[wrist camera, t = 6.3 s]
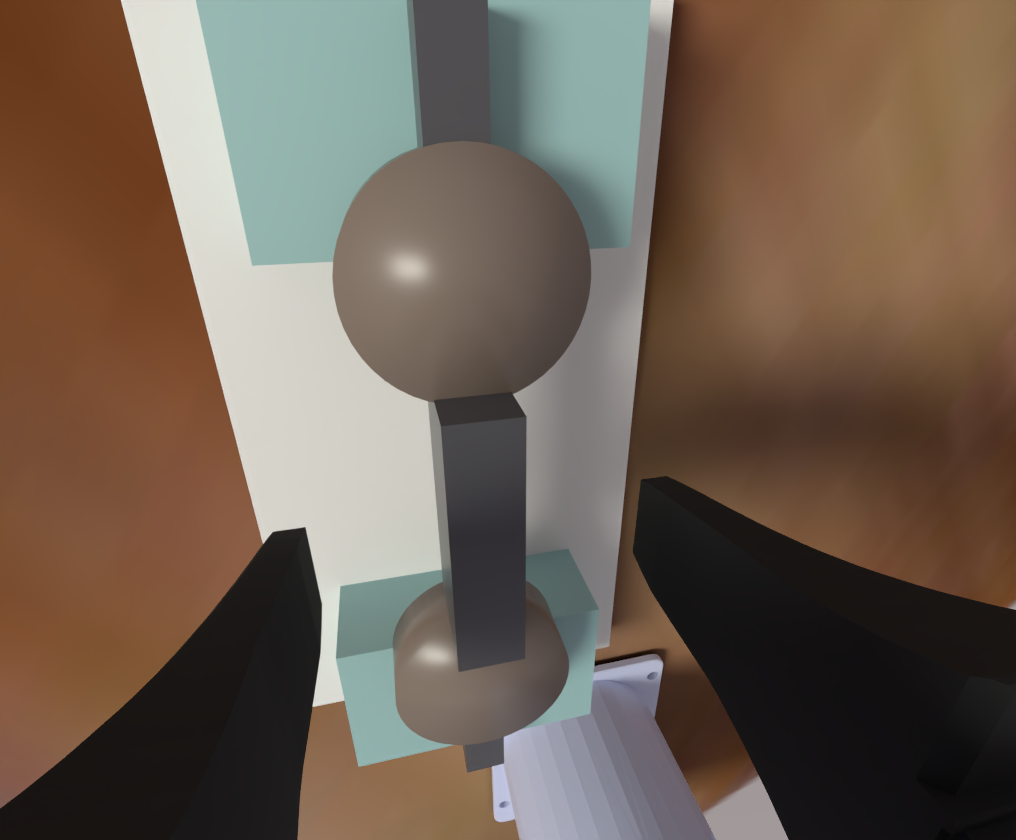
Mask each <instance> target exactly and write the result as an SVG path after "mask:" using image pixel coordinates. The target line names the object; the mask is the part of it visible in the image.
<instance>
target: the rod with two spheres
mask: <svg viewBox="0 0 1016 840" xmlns="http://www.w3.org/2000/svg"><path fill="white" fill-rule="evenodd" d="M407 14H408V27H409V41H410V54H411V68H412V81H413V94H414V108H415V121H416V134H417V148H415V149H412V150H410V151H407V152H405V153H402V154H400V155H398V156H397V157H395V158H393V159H392V160H390V161H388V162H387V163H385V164H384V165H383V166H382V167H380V168H379V169H378V170H377V171H375V172H374V173H373V174H372V175H371V176H370V177H369V178H368V180H367V181H366V182H365V183H364V184H363V185H362V187H361V188H360V189H359V191H358V192H357V194H356V195H355V197H354V198H353V200H352V202H351V204H350V206H349V208H348V210H347V212H346V215H345V218H344V221H343V224H342V226H341V229H340V232H339V235H338V238H337V242H336V247H335V252H334V258H333V274H332V279H333V291H334V298H335V303H336V307H337V312H338V315H339V318H340V320H341V323H342V326H343V329H344V331H345V332H346V334H347V336H348V338H349V340H350V342H351V344H352V345H353V347H354V348H355V350H356V351H357V353H358V354H359V355H360V357H361V358H362V359H363V360H364V362H365V363H366V364H367V365H368V366H369V367H370V368H371V369H372V370H373V371H374V372H375V373H376V374H378V375H379V376H380V377H381V378H382V379H383V380H385V381H386V382H388V383H389V384H391V385H392V386H394V387H395V388H397V389H398V390H400V391H403V392H405V393H407V394H409V395H411V396H413V397H416V398H419V399H422V400H425V401H428V409H429V421H430V433H431V445H432V457H433V470H434V482H435V494H436V506H437V518H438V530H439V542H440V555H441V567H442V579H443V582H441V583H438V584H437V585H435V586H433V587H431V588H430V589H428V590H427V591H425V592H424V593H422V594H421V595H420V596H419V597H417V598H416V599H415V600H414V601H413V602H412V603H411V604H410V605H409V606H408V608H407V609H406V610H405V611H404V613H403V614H402V616H401V617H400V619H399V621H398V623H397V625H396V628H395V631H394V635H393V660H394V679H395V698H396V707H397V711H398V714H399V716H400V718H401V719H402V721H403V722H404V723H405V725H406V726H407V727H408V728H409V729H410V730H411V731H413V732H414V733H416V734H417V735H419V736H421V737H423V738H425V739H427V740H431V741H434V742H437V743H442V744H450V745H463V749H464V755H465V761H466V768H467V772H471V771H475V770H480V769H484V768H488V767H492V766H496V765H500V764H504V737H505V736H508V735H510V734H512V733H514V732H517V731H519V730H521V729H522V728H524V727H526V726H528V725H529V724H531V723H532V722H534V721H535V720H537V719H538V718H539V717H540V716H541V715H543V714H544V713H545V712H546V711H547V710H548V709H549V708H550V707H551V706H552V705H553V704H554V702H555V701H556V700H557V698H558V697H559V695H560V694H561V692H562V690H563V688H564V686H565V684H566V681H567V678H568V673H569V658H568V654H567V651H566V648H565V646H564V643H563V641H562V638H561V636H560V633H559V631H558V629H557V626H556V624H555V621H554V619H553V616H552V614H551V611H550V609H549V606H548V604H547V602H546V599H545V598H544V596H543V595H542V593H541V592H540V591H539V590H538V589H537V588H536V587H535V586H534V585H532V584H531V583H530V582H528V581H526V429H527V417H526V415H525V413H524V412H523V410H522V408H521V407H520V405H519V404H518V402H517V400H516V399H515V397H514V395H513V394H514V393H517V392H519V391H520V390H522V389H524V388H526V387H527V386H529V385H531V384H532V383H534V382H535V381H536V380H538V379H539V378H540V377H542V376H543V375H544V374H545V373H546V372H547V371H548V370H549V369H550V368H552V367H553V366H554V365H555V363H556V362H557V361H558V360H559V359H560V358H561V356H562V355H563V354H564V353H565V351H566V350H567V348H568V347H569V345H570V344H571V342H572V341H573V339H574V337H575V335H576V333H577V331H578V329H579V327H580V325H581V322H582V319H583V317H584V314H585V311H586V307H587V303H588V299H589V294H590V285H591V258H590V250H589V244H588V241H587V237H586V233H585V229H584V227H583V224H582V222H581V219H580V217H579V214H578V212H577V211H576V209H575V207H574V205H573V204H572V202H571V200H570V198H569V197H568V196H567V194H566V193H565V192H564V190H563V189H562V188H561V187H560V185H559V184H558V183H557V182H556V181H555V180H554V179H553V178H552V177H551V176H550V175H549V174H548V173H547V172H546V171H544V170H543V169H542V168H540V167H539V166H538V165H536V164H535V163H534V162H532V161H531V160H529V159H527V158H525V157H523V156H522V155H520V154H518V153H516V152H513V151H511V150H508V149H506V148H503V147H500V146H496V145H492V144H491V126H490V80H489V33H488V0H407Z"/></svg>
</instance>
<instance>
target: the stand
mask: <svg viewBox="0 0 1016 840" xmlns="http://www.w3.org/2000/svg"><path fill="white" fill-rule="evenodd" d="M121 2H122V6H123V10H124V14H125V18H126V21H127V25H128V29H129V33H130V37H131V41H132V44H133V48H134V52H135V56H136V60H137V64H138V67H139V71H140V75H141V79H142V83H143V86H144V90H145V94H146V98H147V102H148V106H149V109H150V113H151V117H152V121H153V125H154V128H155V132H156V136H157V140H158V144H159V148H160V151H161V155H162V159H163V163H164V167H165V171H166V174H167V178H168V182H169V186H170V190H171V193H172V197H173V201H174V205H175V209H176V213H177V216H178V220H179V224H180V228H181V232H182V236H183V239H184V243H185V247H186V251H187V255H188V258H189V262H190V266H191V270H192V274H193V278H194V281H195V285H196V289H197V293H198V297H199V300H200V304H201V308H202V312H203V316H204V320H205V323H206V327H207V331H208V335H209V339H210V343H211V346H212V350H213V354H214V358H215V362H216V365H217V369H218V373H219V377H220V381H221V385H222V388H223V392H224V396H225V400H226V404H227V408H228V411H229V415H230V419H231V423H232V427H233V430H234V434H235V438H236V442H237V446H238V450H239V453H240V457H241V461H242V465H243V469H244V472H245V476H246V480H247V484H248V488H249V492H250V495H251V499H252V503H253V507H254V511H255V515H256V518H257V522H258V526H259V530H260V534H261V537H262V541H263V544H264V542H265V541H266V540H267V538H268V537H269V536H270V535H271V534H272V532H275V531H282V530H289V529H296V528H303V527H306V532H307V537H308V541H309V546H310V551H311V555H312V560H313V564H314V569H315V574H316V578H317V583H318V588H319V592H320V597H321V602H322V631H321V653H320V660H319V667H318V674H317V681H316V687H315V694H314V700H313V707H315V706H320V705H325V704H330V703H334V702H339V701H344V700H345V704H346V709H347V714H348V719H349V723H350V728H351V733H352V737H353V742H354V747H355V751H356V756H357V761H358V766H359V767H360V766H365V765H369V764H373V763H378V762H382V761H386V760H391V759H395V758H400V757H404V756H408V755H413V754H417V753H421V752H426V751H430V750H434V749H439V748H443V747H448V746H452V745H450V744H442V743H437V742H434V741H431V740H427V739H425V738H423V737H421V736H419V735H417V734H416V733H414V732H413V731H411V730H410V729H409V728H408V727H407V726H406V725H405V723H404V722H403V721H402V719H401V718H400V716H399V714H398V711H397V707H396V698H395V679H394V660H393V635H394V631H395V628H396V625H397V623H398V621H399V619H400V617H401V616H402V614H403V613H404V611H405V610H406V609H407V608H408V606H409V605H410V604H411V603H412V602H413V601H414V600H415V599H416V598H417V597H419V596H420V595H421V594H422V593H424V592H425V591H427V590H428V589H430V588H431V587H433V586H435V585H437V584H438V583H441V582H443V579H442V567H441V555H440V542H439V530H438V518H437V506H436V494H435V482H434V470H433V457H432V445H431V433H430V421H429V409H428V401H425V400H422V399H419V398H416V397H413V396H411V395H409V394H407V393H405V392H403V391H400V390H398V389H397V388H395V387H394V386H392V385H391V384H389V383H388V382H386V381H385V380H383V379H382V378H381V377H380V376H379V375H378V374H376V373H375V372H374V371H373V370H372V369H371V368H370V367H369V366H368V365H367V364H366V363H365V362H364V360H363V359H362V358H361V357H360V355H359V354H358V353H357V351H356V350H355V348H354V347H353V345H352V344H351V342H350V340H349V338H348V336H347V334H346V332H345V331H344V329H343V326H342V323H341V320H340V318H339V315H338V312H337V307H336V303H335V298H334V291H333V279H332V274H333V258H334V252H335V247H336V242H337V238H338V235H339V232H340V229H341V226H342V224H343V221H344V218H345V215H346V212H347V210H348V208H349V206H350V204H351V202H352V200H353V198H354V197H355V195H356V194H357V192H358V191H359V189H360V188H361V187H362V185H363V184H364V183H365V182H366V181H367V180H368V178H369V177H370V176H371V175H372V174H373V173H374V172H375V171H377V170H378V169H379V168H380V167H382V166H383V165H384V164H385V163H387V162H388V161H390V160H392V159H393V158H395V157H397V156H398V155H400V154H402V153H405V152H407V151H410V150H412V149H415V148H417V134H416V121H415V108H414V94H413V81H412V68H411V54H410V41H409V27H408V14H407V0H121ZM673 3H674V0H488V33H489V80H490V126H491V144H492V145H496V146H500V147H503V148H506V149H508V150H511V151H513V152H516V153H518V154H520V155H522V156H523V157H525V158H527V159H529V160H531V161H532V162H534V163H535V164H536V165H538V166H539V167H540V168H542V169H543V170H544V171H546V172H547V173H548V174H549V175H550V176H551V177H552V178H553V179H554V180H555V181H556V182H557V183H558V184H559V185H560V187H561V188H562V189H563V190H564V192H565V193H566V194H567V196H568V197H569V198H570V200H571V202H572V204H573V205H574V207H575V209H576V211H577V212H578V214H579V217H580V219H581V222H582V224H583V227H584V229H585V233H586V237H587V241H588V244H589V250H590V258H591V285H590V294H589V299H588V303H587V307H586V311H585V314H584V317H583V319H582V322H581V325H580V327H579V329H578V331H577V333H576V335H575V337H574V339H573V341H572V342H571V344H570V345H569V347H568V348H567V350H566V351H565V353H564V354H563V355H562V356H561V358H560V359H559V360H558V361H557V362H556V363H555V365H554V366H553V367H552V368H550V369H549V370H548V371H547V372H546V373H545V374H544V375H543V376H542V377H540V378H539V379H538V380H536V381H535V382H534V383H532V384H531V385H529V386H527V387H526V388H524V389H522V390H520V391H519V392H517V393H514V394H513V395H514V397H515V399H516V400H517V402H518V404H519V405H520V407H521V408H522V410H523V412H524V413H525V415H526V417H527V429H526V581H528V582H530V583H531V584H532V585H534V586H535V587H536V588H537V589H538V590H539V591H540V592H541V593H542V595H543V596H544V598H545V599H546V602H547V604H548V606H549V609H550V611H551V614H552V616H553V619H554V621H555V624H556V626H557V629H558V631H559V633H560V636H561V638H562V641H563V643H564V646H565V648H566V651H567V654H568V658H569V673H568V678H567V681H566V684H565V686H564V688H563V690H562V692H561V694H560V695H559V697H558V698H557V700H556V701H555V702H554V704H553V705H552V706H551V707H550V708H549V709H548V710H547V711H546V712H545V713H544V714H543V715H541V716H540V717H539V718H538V719H537V720H535V721H534V722H532V723H531V724H529V725H528V726H526V727H524V728H522V729H526V728H531V727H535V726H539V725H544V724H548V723H552V722H557V721H561V720H565V719H570V718H574V717H579V716H583V715H587V714H590V710H591V698H592V686H593V675H594V663H595V651H596V649H599V648H604V647H608V646H609V642H610V632H611V622H612V612H613V602H614V592H615V582H616V572H617V562H618V552H619V542H620V532H621V522H622V512H623V502H624V492H625V482H626V472H627V462H628V452H629V442H630V432H631V422H632V412H633V402H634V392H635V382H636V372H637V362H638V352H639V342H640V333H641V323H642V313H643V303H644V293H645V283H646V273H647V263H648V253H649V243H650V233H651V223H652V213H653V203H654V193H655V183H656V173H657V163H658V153H659V143H660V133H661V123H662V113H663V103H664V93H665V83H666V73H667V63H668V53H669V43H670V33H671V23H672V13H673ZM522 729H521V730H522Z"/></svg>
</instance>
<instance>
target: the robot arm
mask: <svg viewBox="0 0 1016 840" xmlns="http://www.w3.org/2000/svg"><path fill="white" fill-rule="evenodd" d="M633 553H634V556H635V558H636V560H637V562H638V565H639V567H640V569H641V571H642V573H643V575H644V577H645V579H646V581H647V584H648V586H649V588H650V590H651V591H652V593H653V595H654V596H655V598H656V599H657V601H658V603H659V604H660V606H661V607H662V609H663V610H664V612H665V613H666V615H667V617H668V618H669V620H670V621H671V623H672V624H673V626H674V627H675V629H676V630H677V632H678V633H679V635H680V636H681V638H682V639H683V641H684V643H685V644H686V646H687V647H688V649H689V650H690V652H691V653H692V655H693V656H694V658H695V659H696V661H697V662H698V664H699V665H700V667H701V668H702V670H703V671H704V673H705V674H706V676H707V678H708V679H709V681H710V683H711V684H712V686H713V688H714V689H715V691H716V693H717V694H718V696H719V698H720V700H721V702H722V704H723V706H724V707H725V709H726V711H727V713H728V715H729V717H730V719H731V721H732V723H733V725H734V727H735V728H736V730H737V732H738V734H739V736H740V738H741V740H742V742H743V744H744V746H745V748H746V750H747V752H748V754H749V756H750V758H751V760H752V762H753V764H754V766H755V768H756V770H757V772H758V775H759V777H760V779H761V781H762V782H763V785H764V787H765V789H766V791H767V793H768V795H769V797H770V800H771V802H772V804H773V806H774V808H775V811H776V813H777V815H778V817H779V819H780V821H781V824H782V826H783V828H784V830H785V832H786V835H787V837H788V839H789V840H1016V610H1013V609H1009V608H1004V607H999V606H995V605H990V604H986V603H982V602H978V601H974V600H970V599H966V598H962V597H958V596H954V595H951V594H947V593H943V592H940V591H936V590H932V589H929V588H925V587H922V586H918V585H915V584H912V583H909V582H905V581H902V580H899V579H896V578H893V577H890V576H887V575H883V574H880V573H877V572H874V571H871V570H869V569H866V568H863V567H860V566H857V565H854V564H852V563H849V562H847V561H844V560H842V559H839V558H836V557H834V556H831V555H829V554H826V553H823V552H821V551H818V550H816V549H814V548H811V547H809V546H807V545H804V544H802V543H800V542H798V541H795V540H793V539H791V538H789V537H787V536H785V535H782V534H780V533H778V532H776V531H774V530H772V529H770V528H768V527H766V526H763V525H761V524H759V523H757V522H755V521H753V520H751V519H749V518H747V517H745V516H744V515H742V514H740V513H738V512H736V511H734V510H732V509H730V508H728V507H726V506H724V505H722V504H721V503H719V502H717V501H715V500H713V499H711V498H709V497H707V496H705V495H704V494H702V493H700V492H698V491H696V490H694V489H692V488H690V487H688V486H686V485H684V484H682V483H680V482H678V481H676V480H674V479H672V478H669V477H667V476H664V477H657V478H650V479H642V480H641V485H640V494H639V503H638V511H637V520H636V529H635V538H634V546H633ZM321 631H322V602H321V597H320V592H319V588H318V583H317V578H316V574H315V569H314V564H313V560H312V555H311V551H310V546H309V541H308V537H307V532H306V527H303V528H296V529H289V530H282V531H275V532H272V534H271V535H270V536H269V537H268V538H267V540H266V541H265V542H264V544H263V545H262V546H261V548H260V549H259V551H258V552H257V553H256V555H255V556H254V557H253V559H252V560H251V562H250V563H249V564H248V566H247V567H246V568H245V570H244V571H243V572H242V574H241V575H240V576H239V578H238V579H237V580H236V582H235V583H234V584H233V586H232V587H231V588H230V589H229V591H228V592H227V593H226V595H225V596H224V597H223V598H222V600H221V601H220V602H219V603H218V605H217V606H216V607H215V609H214V610H213V611H212V612H211V613H210V615H209V616H208V617H207V618H206V619H205V621H204V622H203V623H202V624H201V625H200V626H199V627H198V629H197V630H196V631H195V632H194V633H193V634H192V636H191V637H190V638H189V639H188V640H187V641H186V642H185V644H184V645H183V646H182V647H181V648H180V649H179V650H178V652H177V653H176V654H175V655H174V656H173V657H172V658H171V659H170V660H169V661H168V662H167V663H166V664H165V666H164V667H163V668H162V669H161V670H160V671H159V672H158V673H157V674H156V675H155V676H154V677H153V678H152V679H151V680H150V681H149V682H148V683H147V684H146V685H145V686H144V687H143V688H142V689H141V690H140V691H139V692H138V693H137V694H136V695H135V696H134V697H133V698H132V699H130V700H129V701H128V702H127V703H126V704H125V705H124V706H123V707H122V708H121V709H120V710H119V711H117V712H116V713H115V714H114V715H113V716H112V717H111V718H109V719H108V720H107V721H106V722H105V723H104V724H103V725H101V726H100V727H99V728H98V729H97V730H96V731H95V732H94V733H92V734H91V735H90V736H89V737H88V738H87V739H86V740H84V741H83V742H82V743H81V744H80V745H79V746H78V747H76V748H75V749H74V750H73V751H72V752H71V753H70V754H68V755H67V756H66V757H65V758H64V759H62V760H61V761H60V762H59V763H58V764H56V765H55V766H54V767H53V768H51V769H50V770H49V771H48V772H47V773H45V774H44V775H43V776H42V777H40V778H39V779H38V780H37V781H35V782H34V783H33V784H32V785H30V786H29V787H28V788H27V789H25V790H24V791H23V792H21V793H20V794H19V795H18V796H16V797H15V798H14V799H12V800H11V801H10V802H8V803H7V804H6V805H5V806H3V807H2V808H1V809H0V840H297V836H298V819H299V803H300V790H301V781H302V772H303V764H304V758H305V751H306V745H307V739H308V732H309V726H310V719H311V713H312V707H313V700H314V694H315V687H316V681H317V674H318V667H319V660H320V653H321ZM662 670H663V662H662V660H661V658H660V657H659V655H657V654H649V655H644V656H639V657H635V658H630V659H625V660H620V661H616V662H611V663H606V664H601V665H597V666H594V675H593V686H592V698H591V710H590V714H587V715H583V716H579V717H574V718H570V719H565V720H561V721H557V722H552V723H548V724H544V725H539V726H535V727H531V728H526V729H522V730H519V731H517V732H514V733H512V734H510V735H508V736H505V737H504V764H500V765H496V766H492V790H493V812H494V818H495V820H496V821H498V822H505V821H509V820H513V819H515V820H516V825H517V829H518V834H519V838H520V840H716V839H715V837H714V835H713V833H712V831H711V829H710V827H709V825H708V823H707V821H706V819H705V817H704V815H703V813H702V811H701V809H700V807H699V805H698V803H697V801H696V799H695V797H694V795H693V793H692V791H691V789H690V787H689V786H688V784H687V782H686V780H685V778H684V776H683V774H682V772H681V770H680V768H679V766H678V764H677V762H676V760H675V758H674V756H673V754H672V752H671V750H670V748H669V746H668V744H667V742H666V740H665V738H664V736H663V734H662V732H661V731H660V729H659V727H658V725H657V723H656V721H655V719H654V718H655V712H656V706H657V700H658V694H659V688H660V682H661V676H662Z"/></svg>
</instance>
